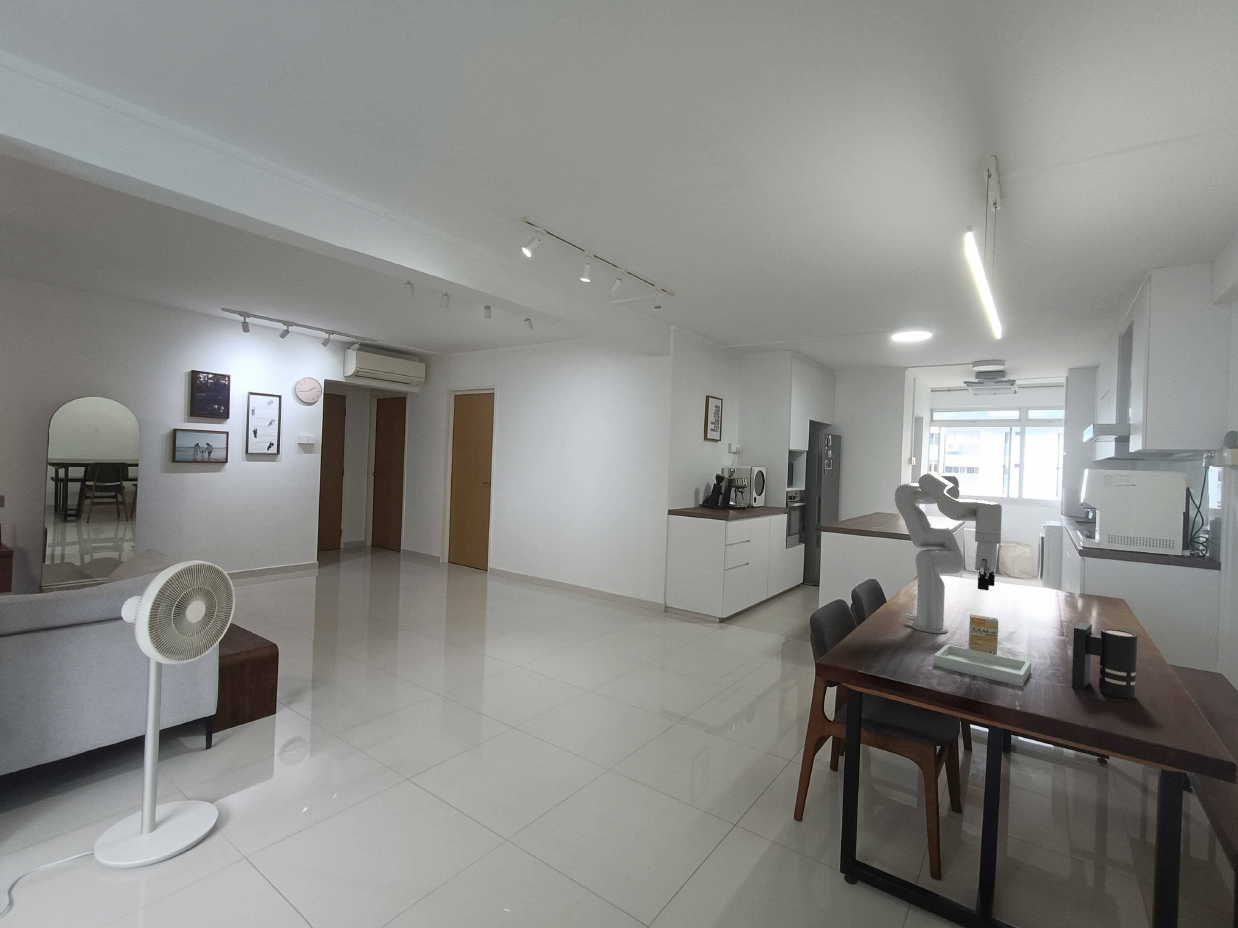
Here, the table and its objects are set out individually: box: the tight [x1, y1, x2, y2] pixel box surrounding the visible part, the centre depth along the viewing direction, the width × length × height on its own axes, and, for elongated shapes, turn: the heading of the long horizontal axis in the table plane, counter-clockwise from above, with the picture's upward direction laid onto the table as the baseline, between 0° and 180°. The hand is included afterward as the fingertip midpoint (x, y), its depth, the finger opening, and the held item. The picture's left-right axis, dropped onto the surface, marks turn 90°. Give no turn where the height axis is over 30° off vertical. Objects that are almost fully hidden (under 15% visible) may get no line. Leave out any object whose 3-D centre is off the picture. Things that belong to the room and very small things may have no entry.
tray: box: [933, 643, 1032, 687], centre depth 189 cm, size 24×16×4 cm, turn 47°
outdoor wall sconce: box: [1071, 621, 1138, 700], centre depth 173 cm, size 10×14×18 cm
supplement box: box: [967, 613, 999, 655], centre depth 203 cm, size 8×5×13 cm, turn 62°
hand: (986, 587), depth 203 cm, fingers open, 9 cm apart
